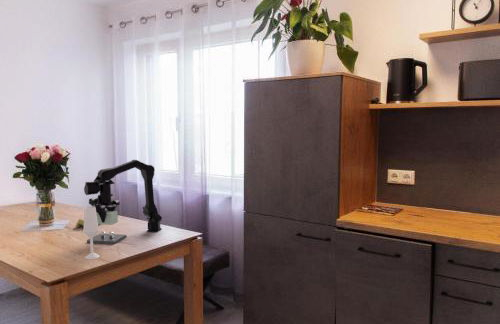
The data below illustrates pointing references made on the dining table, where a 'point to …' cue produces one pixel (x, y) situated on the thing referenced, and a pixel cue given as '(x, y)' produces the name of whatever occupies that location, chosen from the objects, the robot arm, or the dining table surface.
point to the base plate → (107, 238)
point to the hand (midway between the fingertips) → (106, 220)
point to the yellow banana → (80, 223)
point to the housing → (108, 218)
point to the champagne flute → (90, 228)
